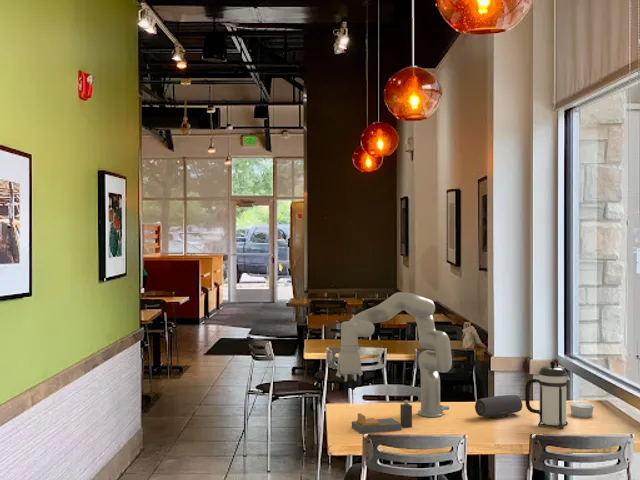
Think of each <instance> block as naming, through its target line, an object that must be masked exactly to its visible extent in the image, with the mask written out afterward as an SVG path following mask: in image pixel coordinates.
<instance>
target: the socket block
mask: <svg viewBox="0 0 640 480" xmlns="http://www.w3.org/2000/svg"><path fill="white" fill-rule="evenodd" d="M374 419H375V418H374ZM375 420H377V421H379V422H380V424H379V425H368V426H363V425H361V424H360V423H358V422H357V420H354V421H353V420H352V421H351V429H353V430H354V431H355V432H356V433H358V434H360V435H364V434H363V433H366V434H375V433H376V434H377V433H385V432H395V431H402V426H401V422H399V421H397V420H396V419H394V418H392V417H388V418H376V419H375Z"/></svg>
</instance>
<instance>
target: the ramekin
mask: <svg viewBox="0 0 640 480" xmlns="http://www.w3.org/2000/svg"><path fill="white" fill-rule="evenodd" d="M569 408H570V412H571V415H572V416H573V417H577V418H591V417H592V416H593V411H594V408H595V406H594V405H593V404H592V403H589V402H577V401H576V402H570V403H569Z"/></svg>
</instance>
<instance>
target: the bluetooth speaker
mask: <svg viewBox="0 0 640 480" xmlns="http://www.w3.org/2000/svg"><path fill="white" fill-rule="evenodd" d="M522 409H523V401H522V399H521V397H520V396H519V395H517V394H505V395H495V396H489V397H488V396H487V397H484V398H478V399H477V400H476V401H475V403H474V410H475V412H476V415H477V416H478V417H483V418H484V417H485V418H486V417H487V418H488V417H489V418H490V417H498V418H503V417H502V416H505V417H509V415H512V414H515V413H519V412H521V411H522Z"/></svg>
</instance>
